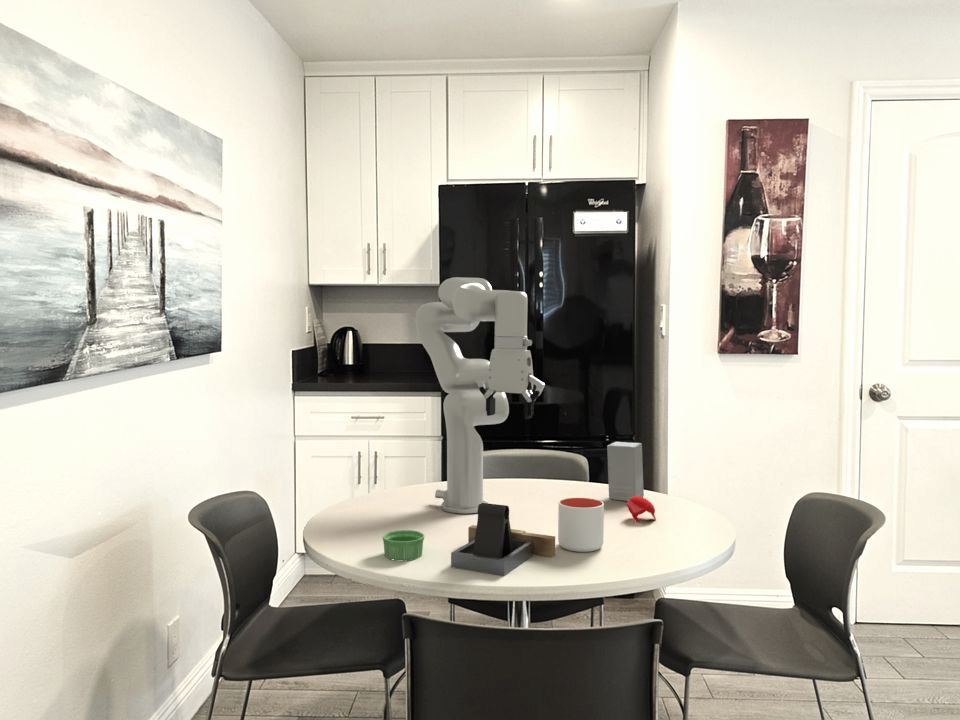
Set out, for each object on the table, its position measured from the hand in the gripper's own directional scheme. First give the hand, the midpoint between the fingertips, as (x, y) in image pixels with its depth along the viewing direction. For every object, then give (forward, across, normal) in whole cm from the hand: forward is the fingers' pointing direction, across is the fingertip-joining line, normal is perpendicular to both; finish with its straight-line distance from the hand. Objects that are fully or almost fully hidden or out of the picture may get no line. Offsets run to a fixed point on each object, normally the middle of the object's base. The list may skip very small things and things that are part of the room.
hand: (509, 416), depth 186 cm
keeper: (+27, -7, +21) cm, 35 cm away
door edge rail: (+27, -7, +12) cm, 31 cm away
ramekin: (+28, +12, +27) cm, 40 cm away
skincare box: (+28, -15, -46) cm, 56 cm away
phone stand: (+27, -7, +21) cm, 35 cm away
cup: (+28, -20, +3) cm, 34 cm away
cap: (+28, -25, -26) cm, 45 cm away
